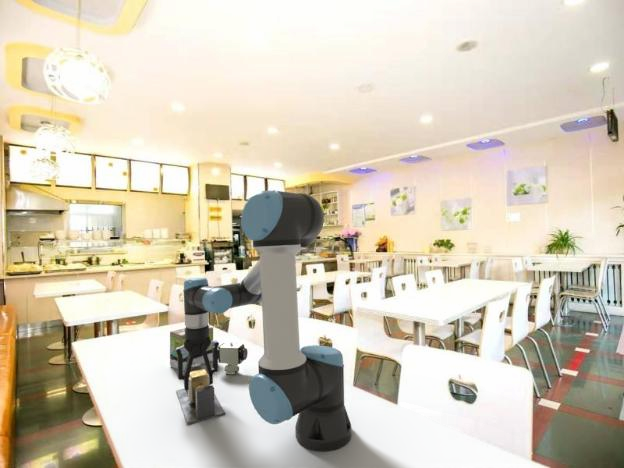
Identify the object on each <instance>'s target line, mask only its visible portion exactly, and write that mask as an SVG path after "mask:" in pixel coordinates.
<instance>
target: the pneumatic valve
mask: <svg viewBox="0 0 624 468" xmlns="http://www.w3.org/2000/svg"><path fill="white" fill-rule="evenodd" d="M217 351H218V364H225V366H224V372H225V374H226V375H231V376H232V375H233V376H234V375H236V373H239V372H240V366H239V365H241V364H242V363H243V362H244V361H246V360H247V358H248V349H247V348H246V347H245V344H244V343H233V342H229V343H228V342H227V343H222V344H221V345H220V344H219V346H218V349H217Z"/></svg>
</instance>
